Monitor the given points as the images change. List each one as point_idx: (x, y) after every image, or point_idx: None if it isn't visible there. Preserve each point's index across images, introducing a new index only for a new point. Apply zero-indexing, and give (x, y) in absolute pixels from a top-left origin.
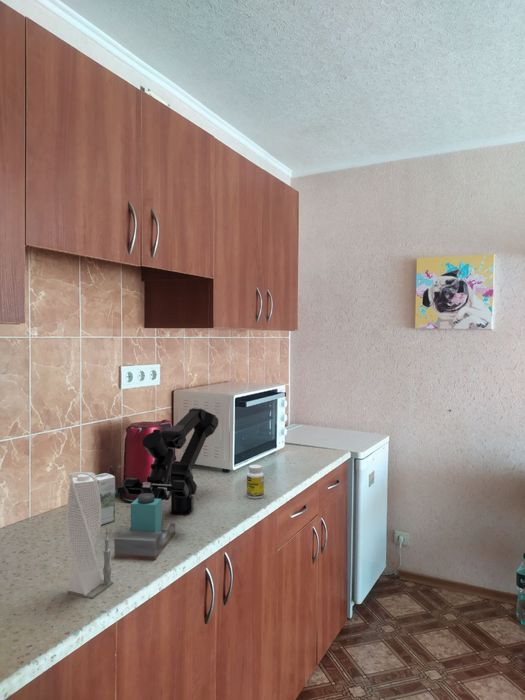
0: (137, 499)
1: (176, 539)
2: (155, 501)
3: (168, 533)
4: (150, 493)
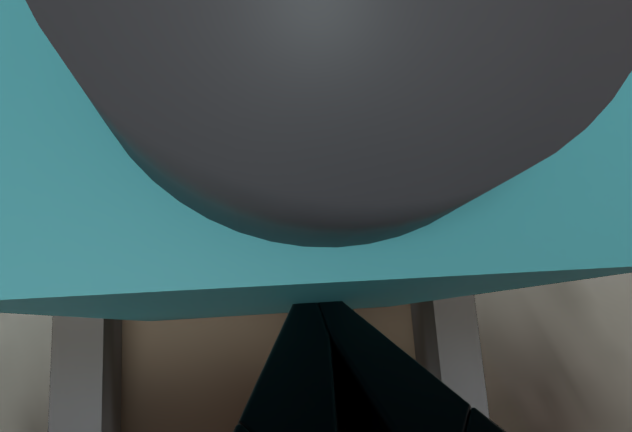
0: (622, 123)
1: (29, 408)
2: (27, 23)
3: (58, 322)
4: (291, 156)
